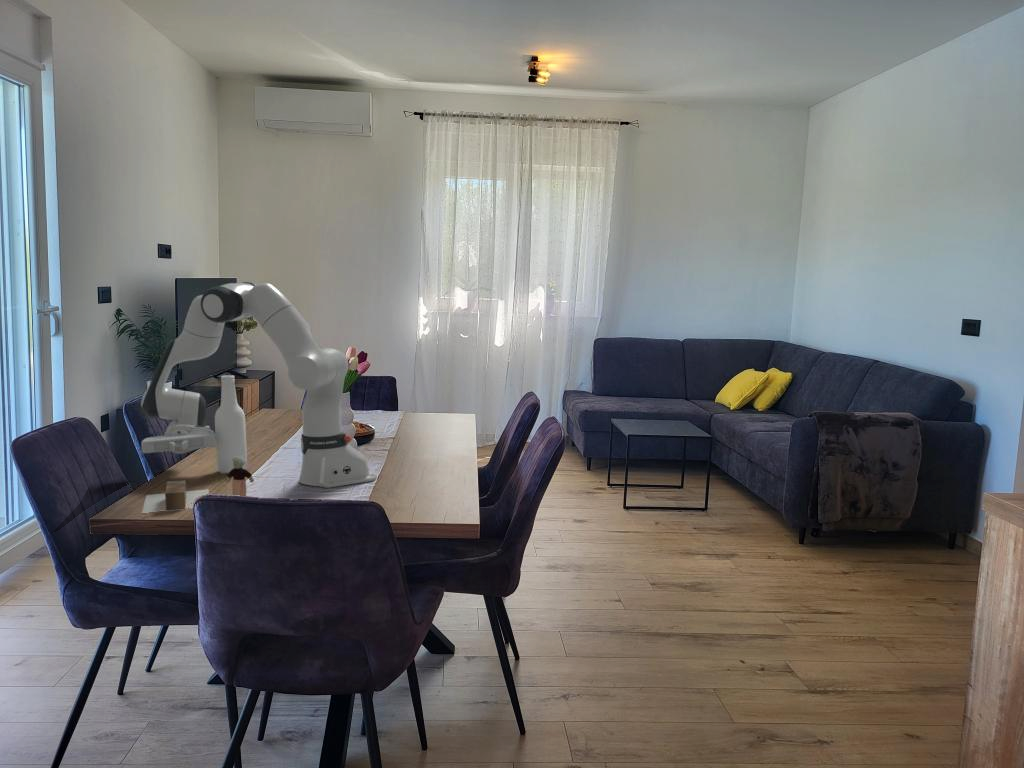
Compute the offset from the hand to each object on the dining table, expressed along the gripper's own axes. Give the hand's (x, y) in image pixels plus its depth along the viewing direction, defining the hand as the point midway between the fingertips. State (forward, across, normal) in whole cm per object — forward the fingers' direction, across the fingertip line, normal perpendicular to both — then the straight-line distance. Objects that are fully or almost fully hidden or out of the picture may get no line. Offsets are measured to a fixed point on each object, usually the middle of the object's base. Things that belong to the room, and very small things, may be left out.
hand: (178, 447), depth 221 cm
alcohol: (-13, +14, +12) cm, 23 cm away
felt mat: (+17, -1, +12) cm, 20 cm away
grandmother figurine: (+22, +15, +12) cm, 29 cm away
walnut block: (+13, -1, +9) cm, 16 cm away
